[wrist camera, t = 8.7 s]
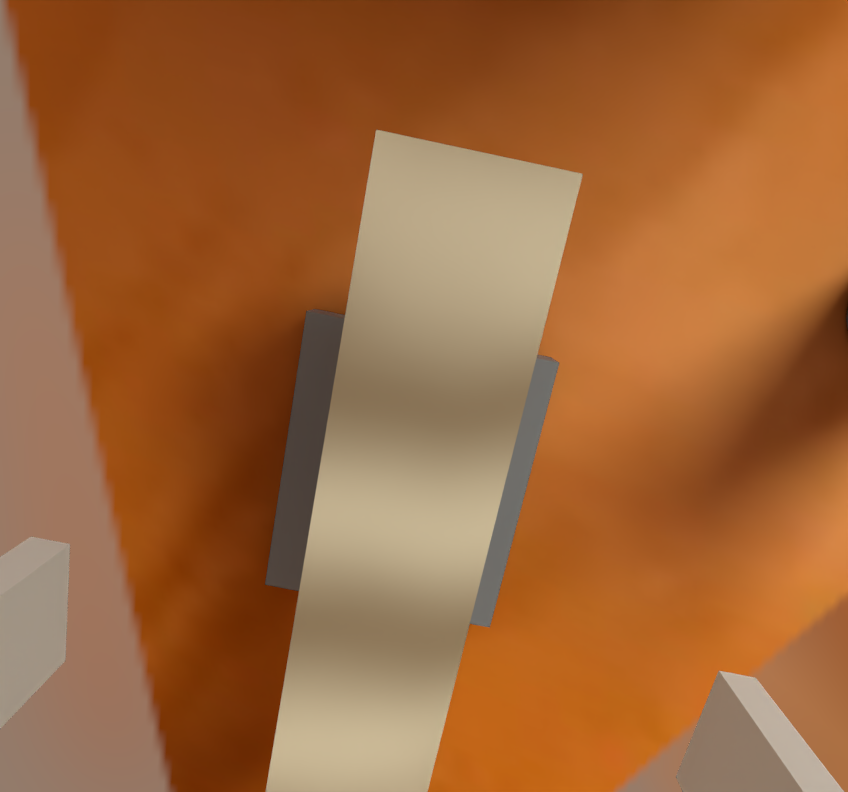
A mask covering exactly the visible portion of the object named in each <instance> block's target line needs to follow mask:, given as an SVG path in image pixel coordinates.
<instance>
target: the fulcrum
mask: <svg viewBox="0 0 848 792" xmlns="http://www.w3.org/2000/svg"><path fill="white" fill-rule="evenodd" d="M344 319H345V315H342V314H337V313H333V312H328V311H323V310H318V309H313V310H308V311H306V318H305V324H304V331H303V338H302V344H301V351H300V357H299V364H298V371H297V377H296V384H295V390H294V397H293V404H292V410H291V417H290V423H289V430H288V436H287V443H286V450H285V456H284V463H283V469H282V476H281V483H280V489H279V496H278V502H277V509H276V516H275V522H274V529H273V535H272V542H271V549H270V555H269V562H268V568H267V575H266V582H265V585H270V586H275V587H280V588H285V589H291V590H296V591H299V589H300V583H301V577H302V571H303V565H304V559H305V553H306V547H307V541H308V535H309V529H310V523H311V517H312V511H313V505H314V499H315V493H316V487H317V481H318V475H319V469H320V463H321V457H322V451H323V445H324V439H325V433H326V427H327V421H328V415H329V409H330V403H331V397H332V391H333V385H334V379H335V373H336V367H337V361H338V355H339V349H340V343H341V337H342V331H343V325H344ZM558 366H559V362H557V361H556V360H554V359H553V358H551V357H547V356H542V355H537V358H536V362H535V366H534V370H533V374H532V378H531V382H530V386H529V390H528V394H527V398H526V402H525V406H524V410H523V414H522V418H521V422H520V426H519V430H518V434H517V438H516V442H515V446H514V450H513V454H512V458H511V462H510V466H509V469H508V473H507V477H506V481H505V485H504V489H503V493H502V497H501V501H500V505H499V509H498V513H497V517H496V521H495V525H494V529H493V533H492V537H491V541H490V545H489V549H488V553H487V557H486V561H485V565H484V569H483V573H482V577H481V581H480V585H479V589H478V593H477V597H476V601H475V605H474V609H473V612H472V616H471V620H470V624H475V625H480V626H485V627H490V624H491V620H492V617H493V613H494V609H495V605H496V601H497V598H498V594H499V590H500V586H501V582H502V579H503V575H504V571H505V567H506V563H507V560H508V556H509V552H510V548H511V544H512V541H513V537H514V533H515V529H516V525H517V522H518V518H519V514H520V510H521V506H522V502H523V499H524V495H525V491H526V487H527V483H528V480H529V476H530V472H531V468H532V464H533V461H534V457H535V453H536V449H537V445H538V442H539V438H540V434H541V430H542V426H543V423H544V419H545V415H546V411H547V407H548V404H549V400H550V396H551V392H552V388H553V385H554V381H555V377H556V373H557V369H558Z"/></svg>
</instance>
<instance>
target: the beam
mask: <svg viewBox="0 0 848 792" xmlns="http://www.w3.org/2000/svg"><path fill="white" fill-rule="evenodd" d="M582 176H583V174H581V173H577V172H572V171H567V170H563V169H558V168H553V167H549V166H544V165H539V164H535V163H530V162H525V161H521V160H516V159H511V158H507V157H502V156H497V155H493V154H488V153H483V152H479V151H474V150H469V149H465V148H460V147H455V146H451V145H446V144H441V143H437V142H432V141H427V140H423V139H418V138H413V137H409V136H404V135H399V134H395V133H390V132H385V131H381V130H376V134H375V140H374V146H373V152H372V158H371V164H370V170H369V176H368V181H367V187H366V193H365V199H364V205H363V211H362V217H361V223H360V229H359V235H358V241H357V247H356V253H355V259H354V265H353V271H352V277H351V283H350V289H349V295H348V301H347V307H346V313H345V319H344V325H343V331H342V337H341V343H340V349H339V355H338V361H337V367H336V373H335V379H334V385H333V391H332V397H331V403H330V409H329V415H328V421H327V427H326V433H325V439H324V445H323V451H322V457H321V463H320V469H319V475H318V481H317V487H316V493H315V499H314V505H313V511H312V517H311V523H310V529H309V535H308V541H307V547H306V553H305V559H304V565H303V571H302V577H301V583H300V589H299V595H298V601H297V607H296V613H295V619H294V625H293V631H292V637H291V643H290V649H289V655H288V661H287V667H286V673H285V679H284V685H283V691H282V697H281V703H280V709H279V715H278V721H277V727H276V733H275V739H274V744H273V750H272V756H271V762H270V768H269V774H268V780H267V786H266V792H427V791H428V787H429V783H430V779H431V775H432V771H433V767H434V763H435V759H436V756H437V752H438V748H439V744H440V740H441V736H442V732H443V728H444V724H445V720H446V716H447V712H448V708H449V704H450V700H451V696H452V692H453V688H454V684H455V680H456V676H457V672H458V668H459V664H460V660H461V656H462V652H463V648H464V644H465V640H466V636H467V632H468V628H469V624H470V620H471V616H472V612H473V609H474V605H475V601H476V597H477V593H478V589H479V585H480V581H481V577H482V573H483V569H484V565H485V561H486V557H487V553H488V549H489V545H490V541H491V537H492V533H493V529H494V525H495V521H496V517H497V513H498V509H499V505H500V501H501V497H502V493H503V489H504V485H505V481H506V477H507V473H508V469H509V466H510V462H511V458H512V454H513V450H514V446H515V442H516V438H517V434H518V430H519V426H520V422H521V418H522V414H523V410H524V406H525V402H526V398H527V394H528V390H529V386H530V382H531V378H532V374H533V370H534V366H535V362H536V358H537V354H538V350H539V346H540V342H541V338H542V334H543V330H544V326H545V322H546V319H547V315H548V311H549V307H550V303H551V299H552V295H553V291H554V287H555V283H556V279H557V275H558V271H559V267H560V263H561V259H562V255H563V251H564V247H565V243H566V239H567V235H568V231H569V227H570V223H571V219H572V215H573V211H574V207H575V203H576V199H577V195H578V191H579V187H580V183H581V179H582Z"/></svg>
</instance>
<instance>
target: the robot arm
mask: <svg viewBox="0 0 848 792" xmlns="http://www.w3.org/2000/svg"><path fill="white" fill-rule="evenodd" d="M69 557H70V544H67V543H62V542H57V541H51V540H46V539H41V538H36V537H30V538H28V539H27V540H25V541H24V542H22V543H21V544H19V545H17V546H16V547H15V548H13V549H12V550H10V551H9V552H7V553H5V554H4V555H2V556H1V557H0V729H1V728H2V727H3V726H4V725H5V723H6V722H7V721H8V720H9V719H10V718H11V717H12V716H13V715H14V714H15V713H16V712H17V711H18V710H19V709H20V708H21V707H22V706H23V705H24V704H25V702H26V701H27V700H28V699H29V698H30V697H31V696H32V695H33V694H34V693H35V692H36V691H37V690H38V689H39V688H40V687H41V686H42V685H43V684H44V682H46V681H47V680H48V678H49V677H50V676H51V675H52V674H53V673H54V672H55V671H56V670H57V669H58V668H59V667H60V666H61V665H62V664H63V662H65V659H66V634H67V609H68V607H67V605H68V584H69V583H68V582H69V559H70V558H69ZM676 779H677V781H678V783H679V785H680V787H681V789H682V792H844V791H843V790H842V788H841V787H840V786H839V785H838V783H837V782H836V781H835V780H834V778H833V777H832V776H831V774H830V773H829V772H828V770H827V769H826V768H825V767H824V765H823V764H822V763H821V761H820V760H819V759H818V758H817V756H816V755H815V754H814V752H813V751H812V750H811V749H810V747H809V746H808V745H807V743H806V742H805V741H804V739H803V738H802V737H801V736H800V734H799V733H798V732H797V730H796V729H795V728H794V727H793V725H792V724H791V723H790V722H789V720H788V719H787V718H786V716H785V715H784V714H783V712H782V711H781V710H780V709H779V707H778V706H777V705H776V703H775V702H774V701H773V699H772V698H771V697H770V696H769V695H768V693H767V692H766V691H765V689H764V688H763V687H762V685H761V684H760V683H759V681H758V680H757V679H756V678H754V677H749V676H744V675H738V674H733V673H728V672H723V671H719V672H718V674H717V677H716V679H715V682H714V684H713V686H712V689H711V691H710V694H709V696H708V699H707V701H706V704H705V706H704V709H703V711H702V714H701V716H700V718H699V721H698V723H697V726H696V728H695V731H694V733H693V736H692V738H691V741H690V743H689V746H688V748H687V751H686V753H685V756H684V758H683V760H682V763H681V765H680V768H679V770H678V773H677V775H676Z"/></svg>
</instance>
